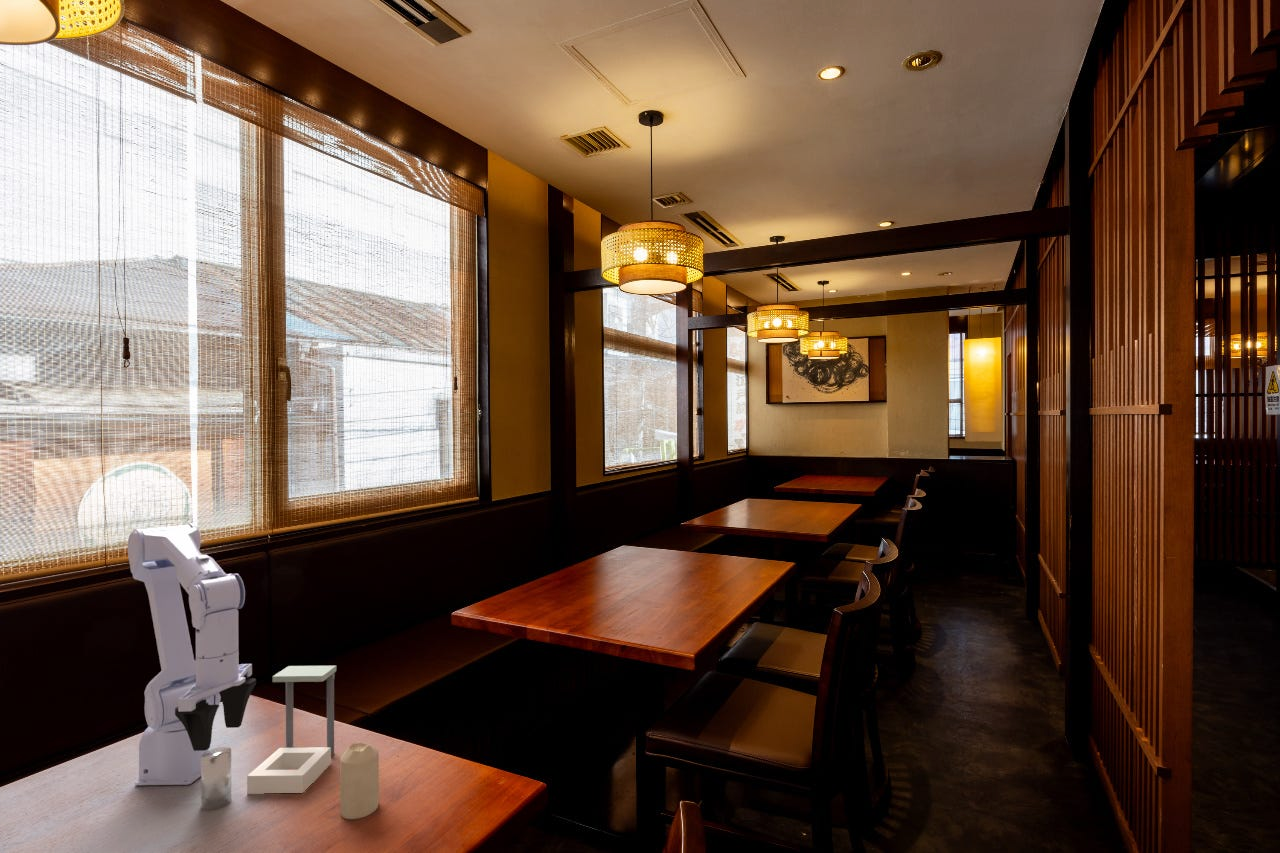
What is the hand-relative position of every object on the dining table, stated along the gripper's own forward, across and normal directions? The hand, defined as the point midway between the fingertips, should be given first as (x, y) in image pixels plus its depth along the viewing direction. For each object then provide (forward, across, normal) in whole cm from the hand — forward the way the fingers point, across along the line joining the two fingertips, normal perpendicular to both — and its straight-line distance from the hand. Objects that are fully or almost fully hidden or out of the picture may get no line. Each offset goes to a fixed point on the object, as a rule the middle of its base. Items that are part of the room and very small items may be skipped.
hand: (218, 737), depth 100 cm
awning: (+10, +14, -6) cm, 18 cm away
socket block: (+10, +7, -8) cm, 15 cm away
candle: (+11, -2, -24) cm, 26 cm away
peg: (+10, 0, 0) cm, 11 cm away
